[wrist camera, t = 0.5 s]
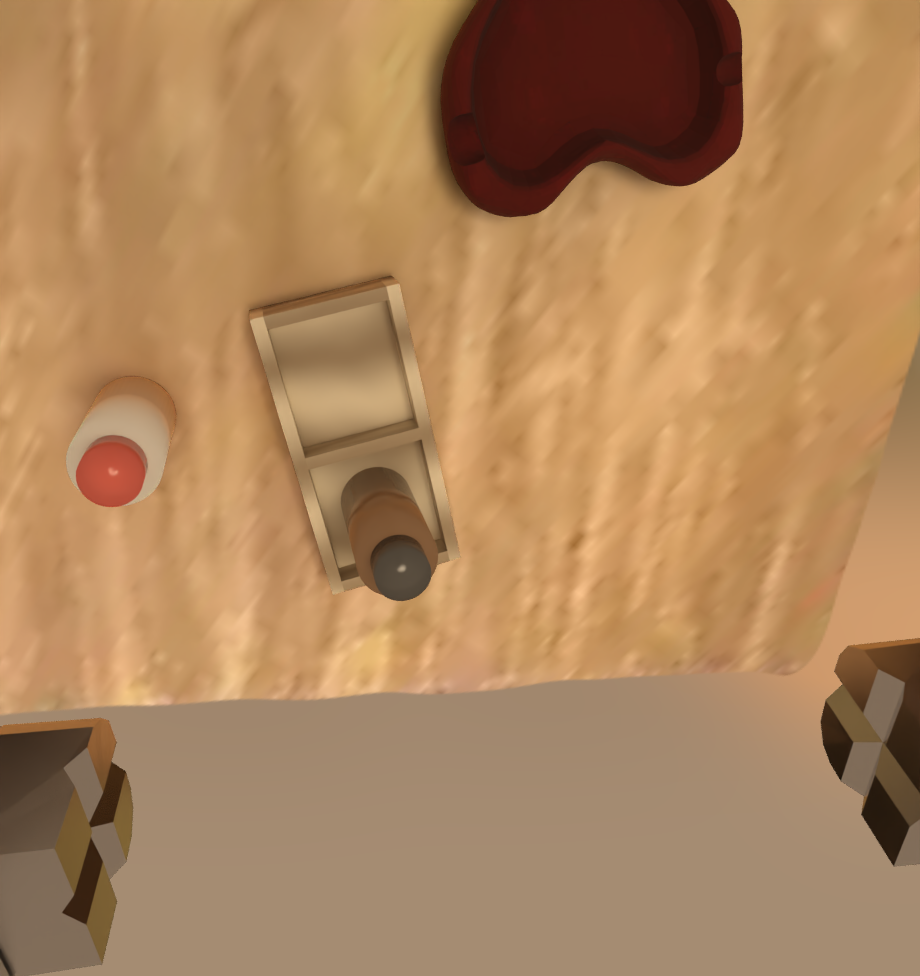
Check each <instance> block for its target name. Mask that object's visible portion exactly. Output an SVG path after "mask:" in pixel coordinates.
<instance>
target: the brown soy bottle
mask: <svg viewBox="0 0 920 976" xmlns="http://www.w3.org/2000/svg"><path fill="white" fill-rule="evenodd" d="M341 508H342V512H343V516H344V520H345V524H346V528H347V532H348V536H349V540H350V544H351V548H352V552H353V555H354V559H355V563H356V567H357V571H358V574H359V576H360V578H361V580H362V581H363V583H364V584H365V585H366V586H367V587H368V588H370V589H371V590H373V591H374V592H376V593H379V594H382V595H384V596H385V597H387V598H389V599H392V600H396V601H405V600H410V599H413V598H415V597H417V596H418V595H420V594H421V593H422V592H423V591H424V590H425V589H426V588H427V586H428V584H429V582H430V579H431V577H432V575H433V573H434V571H435V569H436V566H437V563H438V549H437V546H436V543H435V541H434V539H433V536H432V534H431V532H430V530H429V528H428V526H427V524H426V521H425V519H424V517H423V515H422V513H421V511H420V508H419V506H418V504H417V502H416V500H415V498H414V496H413V493H412V491H411V489H410V487H409V485H408V483H407V481H406V480H405V479H404V478H403V477H402V476H401V475H400V474H399V473H397V472H396V471H394V470H392V469H389V468H384V467H372V468H368V469H365V470H362V471H360V472H358V473H357V474H355V475H354V476H353V477H352V478H351V479H350V480H349V481H348V482H347V484H346V485H345V487H344V489H343V492H342V495H341Z"/></svg>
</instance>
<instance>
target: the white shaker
mask: <svg viewBox="0 0 920 976" xmlns="http://www.w3.org/2000/svg"><path fill="white" fill-rule="evenodd" d="M175 422H176V410H175V406H174V403H173V401H172V399H171V397H170V395H169V394H168V393H167V392H166V390H164V389H163V388H162V387H161V386H160V385H159V384H157V383H155V382H154V381H151V380H149V379H146V378H143V377H136V376H129V377H122V378H119V379H116V380H114V381H112V382H110V383H109V384H107V385H106V386H105V387H104V388H103V389H102V390H101V391H100V393H99V394H98V396H97V398H96V399H95V401H94V403H93V405H92V406H91V408H90V410H89V412H88V413H87V415H86V417H85V419H84V420H83V422H82V424H81V426H80V427H79V429H78V431H77V433H76V434H75V436H74V438H73V440H72V441H71V443H70V445H69V447H68V451H67V455H66V467H67V471H68V474H69V477H70V479H71V481H72V482H73V484H74V485H75V487H76V488H77V489H78V490H79V491H80V492H81V493H82V494H83V495H84V496H85V497H86V498H87V499H89V500H90V501H92V502H93V503H95V504H98V505H101V506H106V507H118V506H126V505H131V504H134V503H137V502H139V501H141V500H143V499H145V498H146V497H148V496H149V495H150V494H151V493H152V492H153V491H154V490H155V489H156V488H157V486H158V485H159V483H160V481H161V478H162V475H163V471H164V467H165V463H166V459H167V455H168V451H169V447H170V443H171V439H172V435H173V430H174V426H175Z"/></svg>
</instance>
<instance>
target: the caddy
mask: <svg viewBox="0 0 920 976" xmlns="http://www.w3.org/2000/svg"><path fill="white" fill-rule="evenodd" d="M249 317H250V323H251V326H252V330H253V333H254V336H255V340H256V343H257V346H258V350H259V353H260V356H261V359H262V363H263V366H264V369H265V373H266V376H267V379H268V383H269V386H270V389H271V392H272V396H273V399H274V402H275V406H276V409H277V412H278V416H279V419H280V422H281V425H282V429H283V432H284V435H285V439H286V442H287V445H288V449H289V452H290V455H291V458H292V462H293V465H294V468H295V472H296V475H297V478H298V482H299V485H300V488H301V492H302V495H303V498H304V501H305V505H306V508H307V511H308V515H309V518H310V521H311V525H312V528H313V531H314V534H315V538H316V541H317V544H318V548H319V551H320V554H321V558H322V561H323V564H324V567H325V571H326V574H327V577H328V581H329V584H330V587H331V591H332V594H333V595H334V594H338V593H341V592H345V591H348V590H352V589H355V588H359V587H362V586H365V584H364V583H363V581H362V580H361V578H360V576H359V574H358V571H357V567H356V563H355V559H354V555H353V552H352V548H351V544H350V540H349V536H348V532H347V528H346V524H345V520H344V516H343V512H342V508H341V495H342V492H343V489H344V487H345V485H346V484H347V482H348V481H349V480H350V479H351V478H352V477H353V476H354V475H355V474H357V473H358V472H360V471H362V470H365V469H368V468H372V467H384V468H389V469H392V470H394V471H396V472H397V473H399V474H400V475H401V476H402V477H403V478H404V479H405V480H406V481H407V483H408V485H409V487H410V489H411V491H412V493H413V496H414V498H415V500H416V502H417V504H418V506H419V508H420V511H421V513H422V515H423V517H424V519H425V521H426V524H427V526H428V528H429V530H430V532H431V534H432V536H433V539H434V541H435V543H436V546H437V549H438V563H437V565H438V564H441V563H445V562H448V561H452V560H455V559H459V558H461V556H460V551H459V547H458V542H457V538H456V534H455V529H454V525H453V520H452V516H451V511H450V507H449V502H448V498H447V493H446V489H445V484H444V480H443V476H442V471H441V467H440V462H439V458H438V453H437V449H436V444H435V440H434V435H433V431H432V427H431V422H430V418H429V413H428V409H427V404H426V400H425V395H424V391H423V386H422V382H421V378H420V373H419V369H418V364H417V360H416V355H415V351H414V346H413V342H412V337H411V333H410V329H409V324H408V320H407V315H406V311H405V306H404V302H403V297H402V293H401V288H400V284H399V283H398V282H397V281H396V280H395V279H394V278H393V277H392V276H389V277H385V278H381V279H377V280H373V281H369V282H364V283H360V284H356V285H352V286H348V287H344V288H340V289H336V290H332V291H327V292H323V293H319V294H315V295H311V296H307V297H303V298H299V299H295V300H290V301H286V302H282V303H278V304H274V305H270V306H266V307H262V308H258V309H253V310H249Z"/></svg>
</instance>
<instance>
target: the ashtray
mask: <svg viewBox="0 0 920 976" xmlns="http://www.w3.org/2000/svg"><path fill="white" fill-rule="evenodd" d="M441 110H442V121H443V128H444V135H445V141H446V147H447V152H448V157H449V161H450V165H451V168H452V171H453V174H454V176H455V178H456V181H457V183H458V185H459V186H460V188H461V189H462V191H463V192H464V194H465V195H466V196H467V197H468V199H469V200H470V201H471V202H472V203H473V204H475V205H476V206H477V207H479V208H481V209H483V210H484V211H486V212H489V213H492V214H495V215H499V216H504V217H516V216H527V215H531V214H536V213H539V212H541V211H542V210H544V209H546V208H547V207H548V206H549V205H550V204H551V203H553V202H554V200H555V199H556V198H557V197H558V196H559V195H560V193H561V192H562V191H563V190H564V189H565V187H566V186H567V185H568V184H569V183H570V182H571V181H572V180H573V179H574V178H575V176H576V175H577V174H579V173H580V172H581V171H582V170H583V169H584V168H585V167H586V166H588V165H590V164H592V163H595V162H599V161H611V162H616V163H619V164H622V165H625V166H627V167H629V168H631V169H633V170H634V171H636V172H638V173H639V174H641V175H643V176H644V177H646V178H648V179H650V180H652V181H655V182H658V183H661V184H665V185H671V186H687V185H690V184H693V183H696V182H698V181H700V180H701V179H703V178H705V177H706V176H708V175H709V174H710V173H712V172H713V171H715V170H716V169H718V168H719V167H720V166H721V165H722V164H724V163H725V162H726V161H727V160H728V159H729V158H730V157H731V156H732V155H733V154H734V153H735V152H736V150H737V149H738V147H739V145H740V141H741V137H742V130H743V88H742V37H741V28H740V24H739V19H738V17H737V15H736V13H735V11H734V9H733V8H732V7H731V5H730V4H729V2H728V1H727V0H478V1H477V3H476V5H475V6H474V8H473V9H472V11H471V13H470V14H469V16H468V17H467V19H466V21H465V22H464V24H463V26H462V27H461V29H460V31H459V33H458V35H457V36H456V38H455V40H454V42H453V44H452V47H451V49H450V52H449V54H448V57H447V60H446V64H445V67H444V71H443V77H442V84H441Z"/></svg>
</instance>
